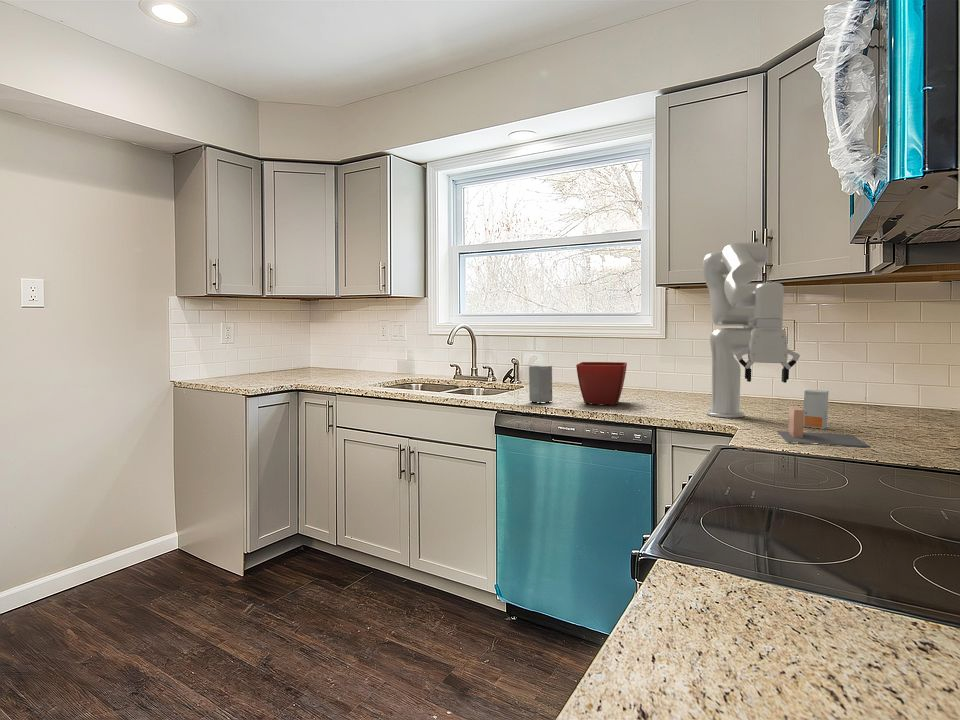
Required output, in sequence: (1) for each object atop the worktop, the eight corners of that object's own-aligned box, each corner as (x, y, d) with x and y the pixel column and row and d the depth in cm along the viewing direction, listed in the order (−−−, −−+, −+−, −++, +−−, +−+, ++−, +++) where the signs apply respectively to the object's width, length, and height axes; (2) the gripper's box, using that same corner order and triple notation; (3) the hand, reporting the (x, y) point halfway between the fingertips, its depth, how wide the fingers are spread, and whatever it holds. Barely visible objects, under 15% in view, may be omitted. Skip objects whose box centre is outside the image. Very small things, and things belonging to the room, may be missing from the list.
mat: (777, 432, 174) (777, 431, 174) (851, 436, 167) (851, 434, 167) (787, 443, 158) (787, 441, 158) (870, 447, 152) (870, 446, 152)
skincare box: (802, 427, 182) (803, 390, 181) (806, 425, 185) (807, 389, 184) (823, 429, 177) (825, 392, 176) (827, 427, 180) (828, 390, 179)
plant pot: (581, 399, 248) (582, 361, 247) (626, 401, 242) (627, 362, 241) (575, 405, 230) (575, 364, 229) (623, 407, 224) (624, 365, 223)
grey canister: (540, 404, 234) (540, 366, 233) (527, 402, 239) (527, 365, 238) (553, 402, 239) (553, 365, 238) (540, 400, 245) (541, 364, 243)
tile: (788, 432, 171) (789, 406, 171) (797, 432, 170) (798, 406, 170) (793, 437, 165) (794, 409, 164) (802, 437, 164) (803, 410, 163)
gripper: (738, 325, 167) (737, 382, 168) (804, 325, 162) (801, 384, 163) (734, 324, 174) (733, 379, 175) (797, 324, 169) (795, 381, 170)
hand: (766, 381), depth 169 cm, fingers open, 9 cm apart
